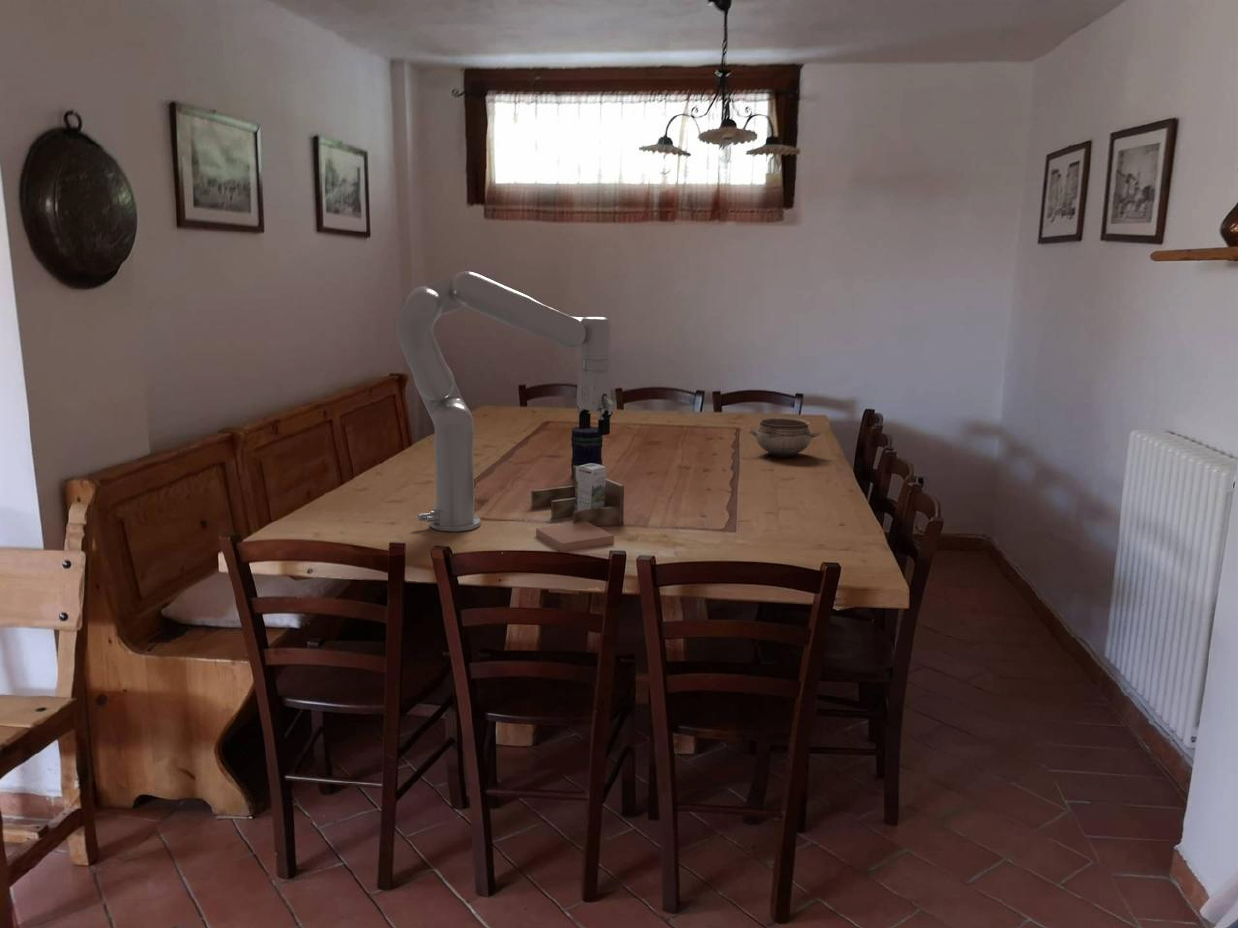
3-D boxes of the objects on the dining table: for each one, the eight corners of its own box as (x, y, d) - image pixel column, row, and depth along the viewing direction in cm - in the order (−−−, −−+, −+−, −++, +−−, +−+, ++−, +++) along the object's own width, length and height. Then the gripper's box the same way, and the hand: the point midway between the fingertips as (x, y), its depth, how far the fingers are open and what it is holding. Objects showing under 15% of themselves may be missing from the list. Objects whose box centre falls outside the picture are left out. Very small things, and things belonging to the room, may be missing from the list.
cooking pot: (815, 451, 339) (817, 418, 336) (821, 462, 320) (823, 427, 318) (745, 449, 341) (747, 415, 338) (747, 459, 323) (748, 424, 320)
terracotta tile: (562, 551, 220) (562, 543, 219) (536, 536, 231) (536, 528, 231) (613, 543, 227) (614, 535, 226) (586, 528, 238) (586, 521, 238)
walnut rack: (575, 529, 237) (575, 491, 235) (531, 506, 259) (531, 470, 256) (623, 522, 244) (624, 485, 242) (577, 500, 266) (577, 465, 263)
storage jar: (598, 480, 289) (599, 433, 286) (567, 478, 291) (567, 431, 288) (605, 473, 299) (606, 427, 296) (575, 471, 301) (575, 425, 298)
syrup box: (588, 515, 251) (589, 462, 248) (605, 519, 247) (606, 465, 244) (574, 519, 246) (574, 465, 243) (591, 523, 243) (591, 469, 240)
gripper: (565, 362, 245) (565, 427, 249) (599, 370, 231) (598, 438, 235) (590, 361, 249) (589, 425, 253) (625, 368, 235) (624, 436, 239)
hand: (594, 431), depth 244 cm, fingers open, 9 cm apart
